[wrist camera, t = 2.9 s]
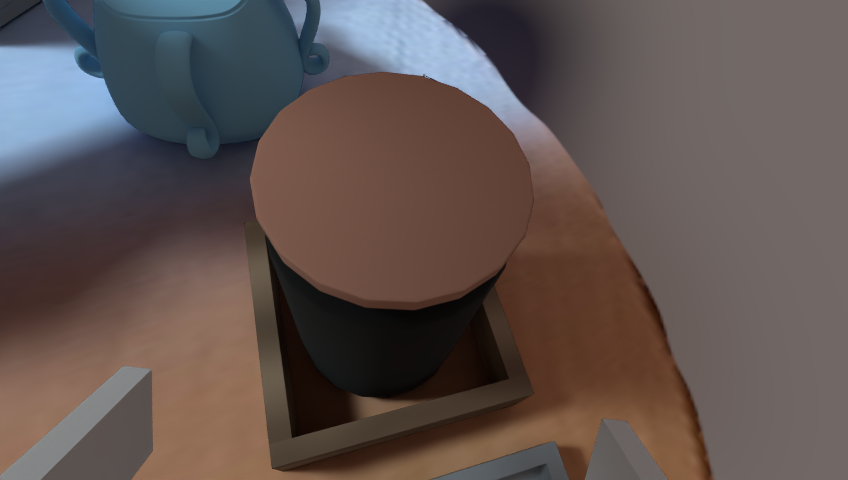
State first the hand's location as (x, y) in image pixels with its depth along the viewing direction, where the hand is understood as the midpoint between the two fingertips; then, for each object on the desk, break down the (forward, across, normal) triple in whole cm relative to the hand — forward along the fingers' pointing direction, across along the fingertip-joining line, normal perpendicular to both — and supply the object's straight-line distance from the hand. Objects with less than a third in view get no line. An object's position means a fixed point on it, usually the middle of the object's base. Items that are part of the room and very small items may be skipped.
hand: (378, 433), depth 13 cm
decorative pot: (+32, -17, +8) cm, 38 cm away
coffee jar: (+19, 0, -6) cm, 20 cm away
